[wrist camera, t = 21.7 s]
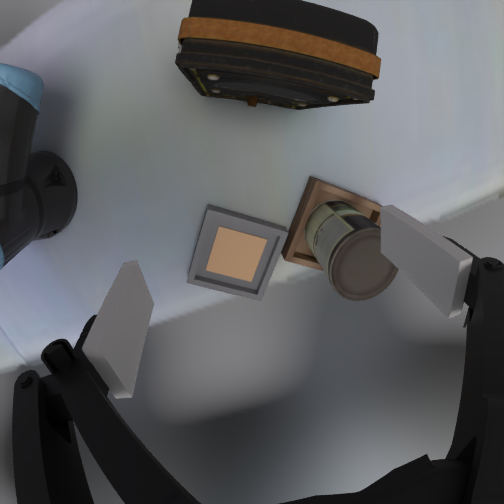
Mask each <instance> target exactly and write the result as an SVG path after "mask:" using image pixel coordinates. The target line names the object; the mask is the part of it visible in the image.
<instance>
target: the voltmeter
mask: <svg viewBox="0 0 504 504" xmlns="http://www.w3.org/2000/svg"><path fill="white" fill-rule="evenodd" d="M178 41H179V43H178V48H179V53H178V54H177V55H176V60H175V63H176V65H177V66H178V68H179V69H180V71H181V72H182V73H183V74H184V75H185V77H186V78H187V79H188V80H189V82H191V83H192V85H193V86H194V87H195V89H196V90H197V91H198V92H199V94H200V95H202V96H210V97H217V98H228V99H236V100H243V101H247V102H248V106H254V107H255V106H256V105H257V103H263V104H269V105H275V106H280V107H284V108H291V109H296V110H302V109H310V108H318V107H327V106H338V105H349V104H363V103H370V100H374V95H375V91H374V90H373V89H372V82H373V80H375V79H378V78H379V72H380V64H381V58H379V57H378V56H376V52H377V43H378V31H377V29H376V28H375V26H374V25H372V24H371V23H370V22H368V21H367V20H364V19H361V18H359V17H356V16H353V15H350V14H347V13H344V12H341V11H338V10H335V9H331V8H328V7H325V6H321V5H317V4H314V3H310V2H306V1H302V0H192V4H191V8H190V13H189V17H188V18H184V19H183V20H182V22H181V26H180V31H179V36H178Z"/></svg>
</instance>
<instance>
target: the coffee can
mask: <svg viewBox="0 0 504 504" xmlns="http://www.w3.org/2000/svg"><path fill="white" fill-rule="evenodd" d="M303 232H304V239H305V242H306V244H307V246H308V247H309V248H310V250H311V251H312V252H313V254H314V256H315V257H316V259H317V260H318V262H319V264H320V265H321V267H322V268H323V270H324V272H325V273H326V275H327V276H328V278H329V280H330V283H331V285H332V287H333V288H334V290H335V291H336V292H337V293H338V294H339V295H340V296H342V297H343V298H346V299H349V300H355V301H361V300H366V299H370V298H372V297H374V296H376V295H378V294H380V293H381V292H382V291H384V290H385V289H386V288H387V287H388V286H389V285H390V284H391V282H392V281H393V279H394V278H395V276H396V274H397V272H398V268H397V267H396V266H395V265H394V264H393V263H392V262H391V261H390V260H389V259H387V258H386V257H385V256H384V255H383V254H382V253H381V227H379V226H378V225H377V224H376V223H374V222H373V221H371V220H370V219H369V218H367V217H366V216H365V215H363V214H362V213H361V212H359V211H358V210H357V209H355V208H354V207H353V206H352V205H351V204H349V203H347V202H346V201H343V200H337V199H333V200H327V201H324V202H322V203H320V204H319V205H317V206H316V207H315V208H314V209H313V210H312V211H311V213H310V216H309V218H308V220H307V223H306V225H305V228H304V231H303Z"/></svg>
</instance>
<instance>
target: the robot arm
mask: <svg viewBox="0 0 504 504" xmlns="http://www.w3.org/2000/svg"><path fill="white" fill-rule="evenodd" d="M43 88H44V84H43V81H42V79H41V78H40V76H38V75H37V74H35V73H33V72H31V71H28V70H25V69H22V68H19V67H15V66H11V65H7V64H2V63H0V270H1V269H2V268H3V267H4V266H5V265H6V264H7V263H8V262H9V261H10V260H11V259H12V258H13V257H14V256H16V255H17V254H18V253H19V252H20V251H21V250H22V249H24V248H25V247H26V246H27V245H28V244H29V243H30V242H32V241H33V240H40V239H46V238H50V237H53V236H55V235H56V234H58V233H59V232H61V231H62V230H63V229H64V228H65V227H66V226H67V225H68V224H69V223H70V221H71V220H72V218H73V216H74V213H75V210H76V205H77V188H76V183H75V180H74V177H73V174H72V172H71V170H70V169H69V167H68V166H67V164H66V163H65V162H64V161H63V160H62V159H61V158H60V157H58V156H57V155H55V154H53V153H50V152H45V151H40V152H35V153H32V154H30V151H31V145H32V139H33V134H34V129H35V124H36V119H37V115H38V114H39V113H40V102H41V97H42V93H43ZM380 212H381V253H382V254H383V255H384V256H385V257H386V258H387V259H389V260H390V261H391V262H392V263H393V264H394V265H395V266H396V267H397V268H398V269H399V270H400V271H401V272H402V273H403V274H404V275H405V276H407V277H408V279H410V280H411V281H412V282H413V283H414V284H415V285H416V286H417V287H418V288H419V289H420V290H421V291H422V292H423V293H424V294H425V295H426V296H427V297H428V298H429V299H430V300H431V301H432V302H433V303H434V304H435V306H437V308H438V309H439V310H440V311H441V312H442V313H443V314H444V315H445V316H446V317H447V318H448V319H450V318H452V317H454V316H457V315H459V314H461V311H462V307H463V303H464V302H465V303H466V304H467V305H468V306H469V308H468V312H467V316H466V319H465V323H464V326H463V327H466V325H467V337H466V354H465V365H464V375H463V384H462V392H461V399H460V406H459V412H458V417H457V422H456V427H455V432H454V437H453V441H452V445H451V448H450V450H449V452H448V454H447V456H446V458H445V459H439V460H432V461H430V459H429V458H428V455H427V454H426V455H424V456H422V457H420V458H418V459H415V460H413V461H411V462H409V463H407V464H405V465H402V466H400V467H398V468H396V469H393V470H392V471H391V472H389V473H388V474H386V475H385V476H384V477H382V478H380V479H379V480H377V481H376V482H374V483H373V484H371V485H370V486H368V487H367V488H365V489H363V490H362V491H359V492H355V493H347V494H346V493H345V494H333V495H316V496H312V497H308V498H303V499H299V500H295V501H290V502H285V503H280V504H504V264H503V263H502V262H501V261H499V260H497V259H495V258H491V257H485V258H481V259H480V258H478V257H477V256H476V255H474V254H473V253H471V252H470V251H468V250H467V249H466V248H464V247H463V246H461V245H459V244H458V243H457V242H455V241H454V240H452V239H450V238H447V237H445V236H441V235H440V234H438V233H437V232H435V231H434V230H432V229H430V228H429V227H427V226H426V225H424V224H423V223H421V222H420V221H418V220H416V219H415V218H413V217H411V216H410V215H408V214H407V213H405V212H403V211H402V210H400V209H398V208H397V207H395V206H393V205H388V206H383V207H380ZM153 306H154V302H153V300H152V297H151V295H150V292H149V290H148V287H147V285H146V282H145V280H144V277H143V275H142V272H141V270H140V267H139V264H138V262H137V260H135V261H130V262H126V263H124V264H123V266H122V268H121V269H120V271H119V273H118V275H117V277H116V279H115V281H114V283H113V285H112V286H111V288H110V290H109V292H108V294H107V296H106V298H105V300H104V302H103V304H102V306H101V308H100V310H99V312H98V314H97V315H93V316H92V317H91V318H90V319H89V320H88V322H87V323H86V324H85V326H84V328H83V332H82V333H81V335H80V338H79V339H78V341H77V343H76V345H75V347H74V349H73V348H72V346H71V345H70V343H69V342H68V341H67V340H66V339H58V340H55V341H53V342H51V343H50V344H49V345H47V346H46V348H45V349H44V350H43V352H42V354H41V359H42V361H43V362H44V364H45V365H46V366H47V368H48V369H49V371H50V372H51V373H52V374H51V375H48V376H45V377H42V378H41V377H40V376H39V374H38V373H37V372H36V371H34V370H29V371H26V372H24V373H22V374H21V375H20V376H19V377H18V379H17V380H16V382H15V385H14V397H13V418H12V420H13V422H12V445H13V465H14V478H15V488H16V496H17V503H18V504H94V502H93V499H92V496H91V492H90V489H89V486H88V483H87V479H86V476H85V472H84V468H83V464H82V460H81V456H80V453H79V448H78V443H77V439H76V434H75V428H74V424H73V421H74V422H75V425H76V426H77V428H78V430H79V432H80V434H81V436H82V438H83V439H84V441H85V443H86V445H87V447H88V448H89V450H90V452H91V453H92V455H93V457H94V458H95V460H96V461H97V463H98V465H99V467H100V468H101V469H102V471H103V473H104V474H105V476H106V477H107V479H108V480H109V482H110V483H111V485H112V486H113V488H114V489H115V490H116V492H117V493H118V495H119V496H120V497H121V499H122V500H123V501H124V503H125V504H201V503H200V502H199V501H198V500H196V498H194V497H193V496H192V495H191V494H190V493H189V492H188V491H187V490H186V489H185V488H184V487H183V486H182V485H181V484H180V483H179V482H178V481H177V480H176V479H175V478H174V477H173V476H172V475H171V474H170V473H169V472H168V471H167V470H166V469H165V468H164V467H163V466H162V464H161V463H160V462H159V461H158V460H157V459H156V458H155V457H154V456H153V455H152V453H151V452H150V451H149V450H148V449H147V448H146V446H145V445H144V444H143V443H142V442H141V440H140V439H139V438H138V437H137V436H136V434H135V433H134V432H133V431H132V429H131V428H130V427H129V426H128V424H127V423H126V422H125V421H124V419H123V418H122V417H121V415H120V414H119V413H118V411H117V410H116V409H115V407H114V406H113V404H112V403H111V402H110V400H109V399H108V398H107V395H108V391H109V390H110V391H111V392H112V394H113V395H114V396H115V398H130V397H132V396H133V390H134V386H135V381H136V376H137V372H138V367H139V363H140V358H141V354H142V349H143V345H144V341H145V337H146V333H147V329H148V325H149V321H150V317H151V313H152V309H153Z"/></svg>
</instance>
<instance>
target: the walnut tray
mask: <svg viewBox="0 0 504 504" xmlns="http://www.w3.org/2000/svg"><path fill="white" fill-rule="evenodd" d="M333 199H337V200H343V201H346V202H347V203H349V204H351V205H352V206H353V207H354V208H355V209H357V210H358V211H359V212H361V213H362V214H363V215H365V216H366V217H367V218H369V219H370V220H371V221H373V222H374V223H376V224H377V225H378V226H379V227H380V225H381V212H380V207H383V206H382V205H380V204H378V203H376V202H374V201H371V200H369V199H367V198H364V197H362V196H360V195H357V194H355V193H352V192H350V191H347V190H345V189H342V188H340V187H337V186H335V185H332V184H330V183H327V182H324V181H322V180H319V179H316V178H314V177H311V176H310V178H309V181H308V183H307V186H306V188H305V191H304V194H303V196H302V199H301V201H300V204H299V206H298V209H297V212H296V214H295V217H294V219H293V222H292V224H291V227H290V229H289V233H288V236H287V238H286V241H285V243H284V246H283V248H282V251H281V253H282V255H283V258H284V260H285V261H289V262H292V263H296V264H300V265H303V266H307V267H311V268H314V269H318V270H322V271H324V270H323V268H322V267H321V265H320V264H319V262H318V260H317V259H316V257H315V256H314V254H313V252H312V251H311V250H310V248H309V247H308V246H307V244H306V242H305V239H304V232H303V231H304V228H305V225H306V223H307V220H308V218H309V216H310V213H311V211H312V210H313V209H314V208H315V207H316V206H317V205H319V204H320V203H322V202H324V201H327V200H333Z"/></svg>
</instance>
